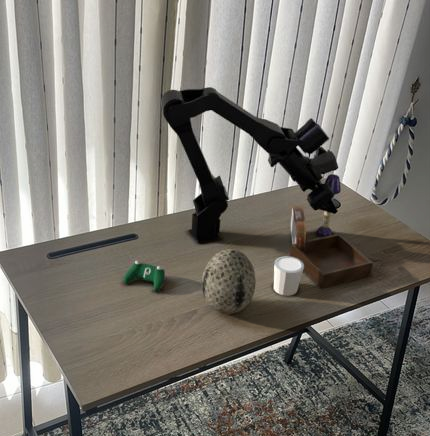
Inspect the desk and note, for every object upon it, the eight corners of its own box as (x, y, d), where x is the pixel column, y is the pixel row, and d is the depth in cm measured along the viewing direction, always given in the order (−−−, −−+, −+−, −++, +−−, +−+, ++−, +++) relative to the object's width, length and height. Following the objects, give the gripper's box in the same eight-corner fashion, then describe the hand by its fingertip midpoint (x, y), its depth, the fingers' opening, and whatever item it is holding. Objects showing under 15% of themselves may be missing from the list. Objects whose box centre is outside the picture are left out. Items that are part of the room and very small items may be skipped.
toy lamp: (311, 232, 180) (321, 175, 170) (321, 226, 183) (331, 170, 173) (325, 239, 178) (336, 182, 168) (335, 233, 181) (347, 177, 171)
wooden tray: (321, 288, 160) (323, 274, 158) (289, 257, 170) (291, 243, 168) (369, 275, 165) (373, 262, 163) (336, 246, 176) (339, 233, 173)
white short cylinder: (280, 300, 155) (284, 275, 151) (265, 284, 160) (268, 259, 156) (305, 293, 158) (310, 268, 154) (289, 277, 162) (293, 253, 158)
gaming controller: (162, 294, 157) (170, 270, 157) (158, 291, 153) (165, 266, 154) (126, 285, 159) (133, 261, 159) (121, 281, 155) (129, 257, 156)
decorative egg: (192, 298, 153) (195, 242, 144) (239, 289, 157) (245, 234, 148) (211, 329, 145) (216, 271, 136) (260, 319, 149) (268, 262, 140)
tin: (304, 258, 170) (309, 229, 165) (291, 257, 169) (296, 228, 164) (299, 227, 182) (303, 200, 177) (287, 226, 182) (292, 199, 177)
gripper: (332, 160, 157) (368, 201, 166) (312, 128, 172) (345, 167, 180) (295, 190, 161) (331, 229, 169) (278, 156, 175) (312, 194, 184)
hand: (331, 203), depth 175 cm, fingers open, 9 cm apart
